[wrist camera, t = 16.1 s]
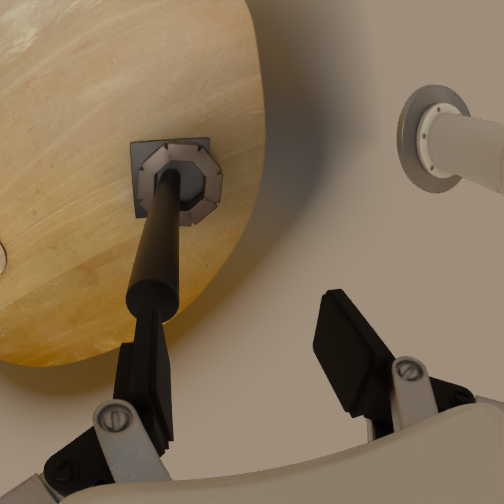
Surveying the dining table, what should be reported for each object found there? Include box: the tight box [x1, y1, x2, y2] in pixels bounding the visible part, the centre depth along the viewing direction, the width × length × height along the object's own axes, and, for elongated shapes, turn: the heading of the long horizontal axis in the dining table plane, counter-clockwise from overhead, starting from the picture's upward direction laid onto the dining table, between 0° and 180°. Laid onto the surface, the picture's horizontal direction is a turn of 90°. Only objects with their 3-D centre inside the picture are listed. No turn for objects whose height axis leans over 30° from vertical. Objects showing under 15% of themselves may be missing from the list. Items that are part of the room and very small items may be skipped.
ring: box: [137, 141, 223, 226], centre depth 33 cm, size 9×9×3 cm
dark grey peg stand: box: [126, 137, 209, 323], centre depth 24 cm, size 9×9×25 cm
